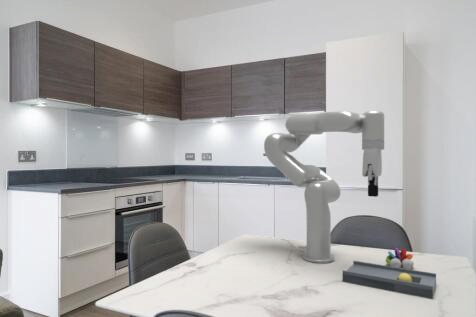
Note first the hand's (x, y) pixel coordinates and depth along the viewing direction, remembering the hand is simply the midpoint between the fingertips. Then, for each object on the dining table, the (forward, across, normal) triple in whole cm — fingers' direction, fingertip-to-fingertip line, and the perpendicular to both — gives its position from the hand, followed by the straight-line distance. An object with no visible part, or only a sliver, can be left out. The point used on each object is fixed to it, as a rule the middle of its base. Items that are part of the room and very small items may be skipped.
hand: (373, 196), depth 125 cm
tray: (+27, +10, +7) cm, 30 cm away
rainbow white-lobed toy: (+28, -10, +7) cm, 30 cm away
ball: (+25, +10, +12) cm, 30 cm away
